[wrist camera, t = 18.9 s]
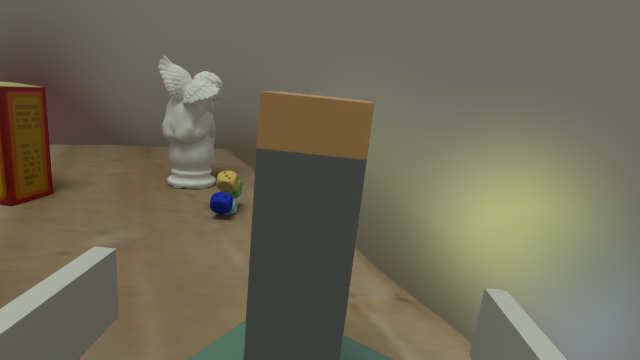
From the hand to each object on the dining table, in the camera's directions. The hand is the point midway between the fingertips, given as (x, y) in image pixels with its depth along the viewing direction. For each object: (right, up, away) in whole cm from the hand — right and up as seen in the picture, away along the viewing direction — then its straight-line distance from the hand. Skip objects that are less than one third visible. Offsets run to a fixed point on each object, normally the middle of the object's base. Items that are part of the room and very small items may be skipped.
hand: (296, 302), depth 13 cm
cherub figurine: (-22, +3, +54) cm, 58 cm away
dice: (-13, -1, +42) cm, 44 cm away
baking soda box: (-45, +2, +40) cm, 60 cm away
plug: (-1, -9, +10) cm, 13 cm away
